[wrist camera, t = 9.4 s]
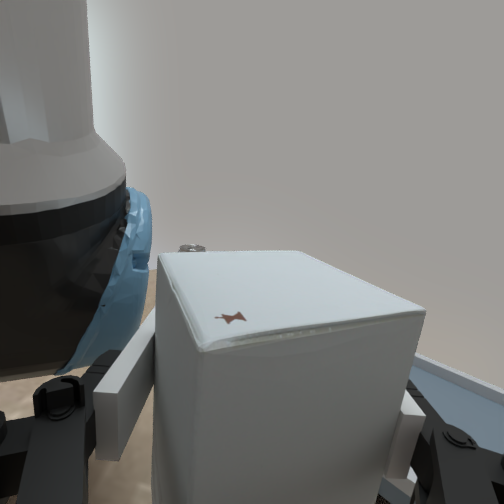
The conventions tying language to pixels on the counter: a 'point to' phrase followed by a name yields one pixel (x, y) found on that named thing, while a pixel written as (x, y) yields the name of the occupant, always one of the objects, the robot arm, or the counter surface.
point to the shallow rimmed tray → (453, 413)
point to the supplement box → (274, 379)
